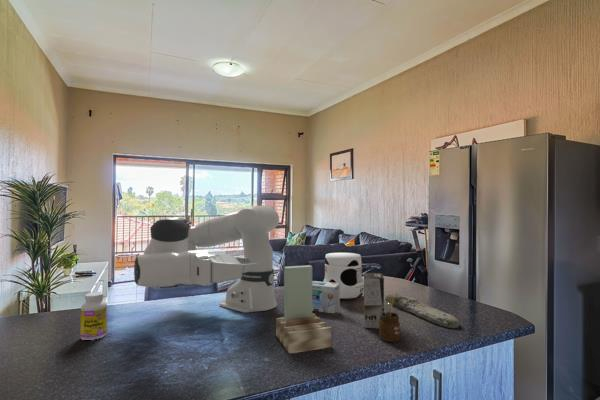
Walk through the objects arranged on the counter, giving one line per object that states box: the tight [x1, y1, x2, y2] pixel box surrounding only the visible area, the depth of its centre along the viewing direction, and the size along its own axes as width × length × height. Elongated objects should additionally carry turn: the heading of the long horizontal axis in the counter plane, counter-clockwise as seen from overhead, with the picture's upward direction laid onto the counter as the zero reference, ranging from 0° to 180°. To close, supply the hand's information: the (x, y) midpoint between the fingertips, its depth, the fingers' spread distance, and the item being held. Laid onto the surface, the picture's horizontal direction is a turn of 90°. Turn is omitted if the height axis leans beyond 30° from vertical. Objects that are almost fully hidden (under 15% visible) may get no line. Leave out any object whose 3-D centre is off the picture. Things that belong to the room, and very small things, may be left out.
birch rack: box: [275, 313, 333, 354], centre depth 94 cm, size 12×13×6 cm
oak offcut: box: [294, 325, 321, 331], centre depth 90 cm, size 7×2×5 cm, turn 110°
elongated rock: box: [384, 292, 460, 329], centre depth 124 cm, size 35×5×10 cm
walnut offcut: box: [286, 315, 320, 327], centre depth 94 cm, size 9×2×6 cm, turn 110°
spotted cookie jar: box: [322, 252, 364, 301], centre depth 143 cm, size 17×17×18 cm
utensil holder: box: [378, 295, 401, 343], centre depth 99 cm, size 6×6×12 cm
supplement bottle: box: [80, 291, 108, 341], centre depth 100 cm, size 7×7×13 cm
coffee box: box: [363, 272, 385, 330], centre depth 112 cm, size 9×6×16 cm
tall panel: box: [283, 264, 313, 322], centre depth 98 cm, size 8×2×20 cm, turn 110°
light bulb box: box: [312, 280, 341, 314], centre depth 122 cm, size 11×7×11 cm, turn 68°
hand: (253, 263), depth 93 cm, fingers open, 8 cm apart
